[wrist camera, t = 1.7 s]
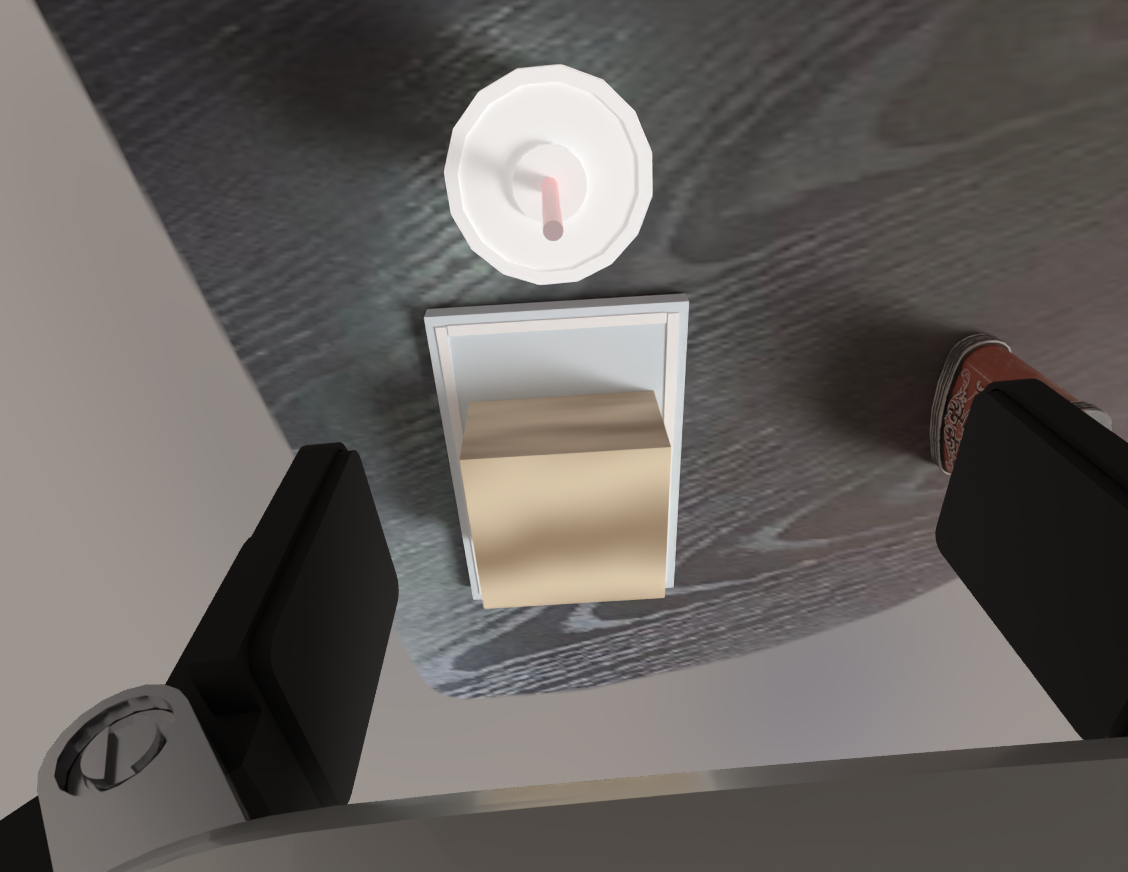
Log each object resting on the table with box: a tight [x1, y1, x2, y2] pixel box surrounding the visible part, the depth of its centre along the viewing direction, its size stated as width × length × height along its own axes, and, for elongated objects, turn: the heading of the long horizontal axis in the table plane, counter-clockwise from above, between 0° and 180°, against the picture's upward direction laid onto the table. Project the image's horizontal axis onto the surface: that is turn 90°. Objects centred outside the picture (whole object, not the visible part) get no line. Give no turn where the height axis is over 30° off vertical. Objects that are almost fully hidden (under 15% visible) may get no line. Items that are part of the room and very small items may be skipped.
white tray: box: [424, 293, 689, 600], centre depth 35 cm, size 18×12×1 cm, turn 3°
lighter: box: [930, 333, 1112, 475], centre depth 30 cm, size 8×3×10 cm, turn 10°
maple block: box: [460, 391, 671, 609], centre depth 32 cm, size 9×9×5 cm
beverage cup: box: [444, 64, 652, 285], centre depth 21 cm, size 6×6×14 cm
